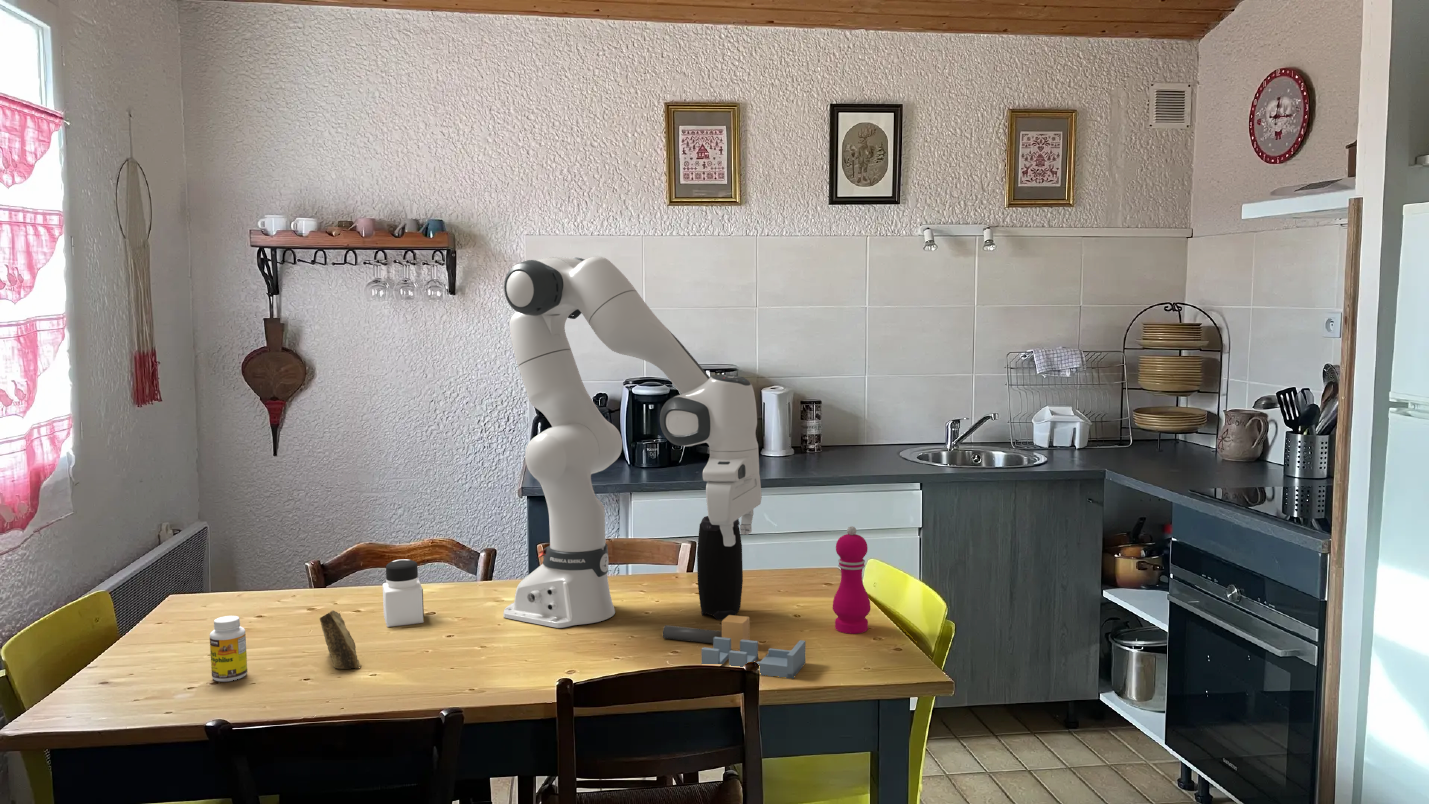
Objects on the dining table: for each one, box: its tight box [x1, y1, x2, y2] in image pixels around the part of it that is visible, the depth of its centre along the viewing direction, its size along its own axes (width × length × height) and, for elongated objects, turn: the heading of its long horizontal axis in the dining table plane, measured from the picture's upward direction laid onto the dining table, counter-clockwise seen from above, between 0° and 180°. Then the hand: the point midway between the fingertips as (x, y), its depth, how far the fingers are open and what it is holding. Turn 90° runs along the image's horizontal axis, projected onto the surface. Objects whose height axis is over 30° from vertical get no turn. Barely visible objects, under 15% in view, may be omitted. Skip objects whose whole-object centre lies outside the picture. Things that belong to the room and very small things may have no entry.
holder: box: [755, 639, 806, 680], centre depth 181 cm, size 7×8×4 cm
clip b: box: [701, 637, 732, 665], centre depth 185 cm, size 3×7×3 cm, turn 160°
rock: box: [319, 610, 361, 670], centre depth 188 cm, size 11×9×10 cm
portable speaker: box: [696, 515, 744, 621], centre depth 211 cm, size 9×9×20 cm
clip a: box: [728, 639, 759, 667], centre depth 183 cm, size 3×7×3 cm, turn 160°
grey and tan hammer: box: [662, 615, 751, 651], centre depth 195 cm, size 16×4×5 cm, turn 70°
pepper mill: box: [832, 525, 872, 635], centre depth 201 cm, size 7×7×20 cm
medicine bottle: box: [382, 558, 425, 628], centre depth 210 cm, size 7×7×12 cm
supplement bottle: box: [209, 615, 248, 682], centre depth 180 cm, size 6×6×10 cm
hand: (738, 539), depth 192 cm, fingers open, 8 cm apart
